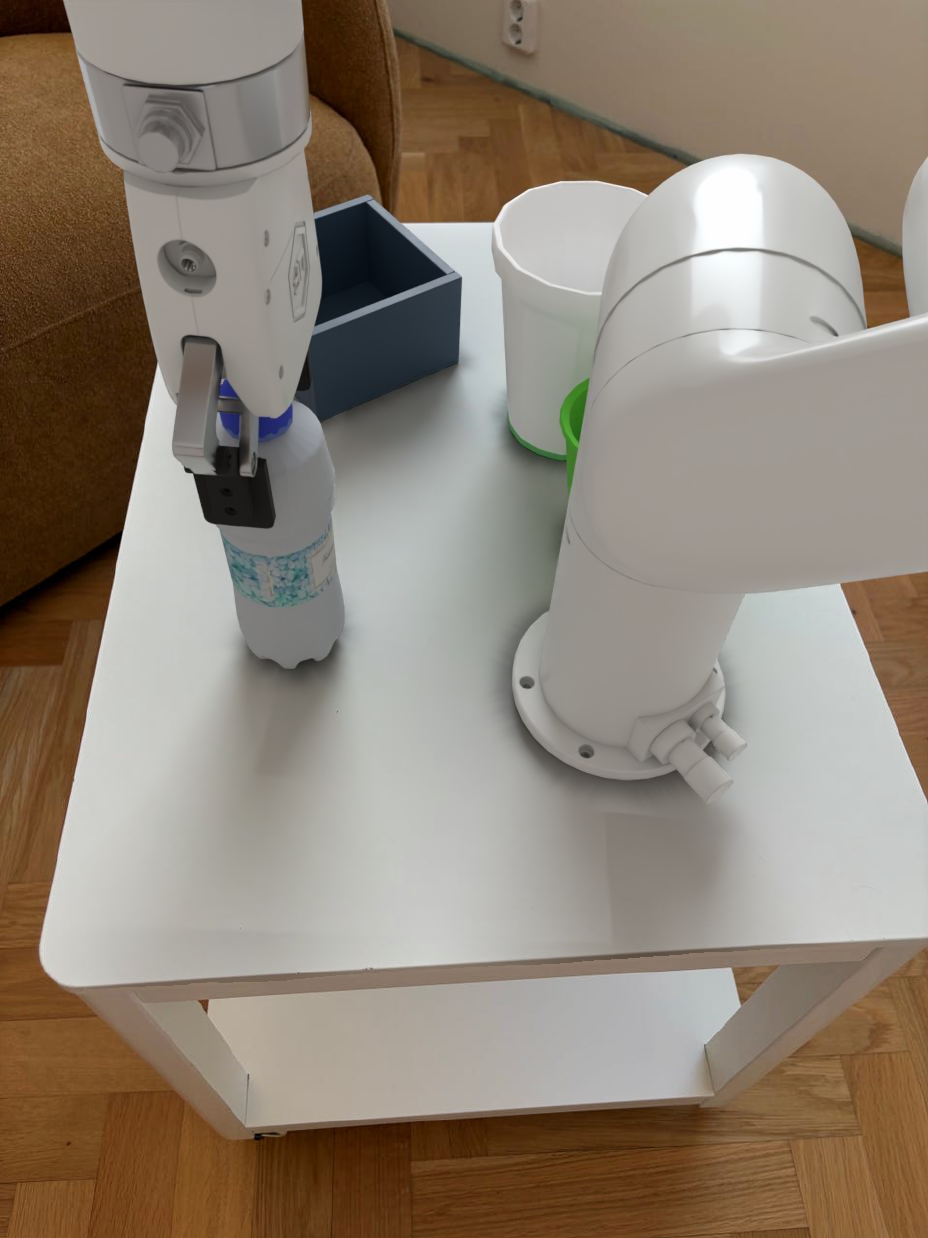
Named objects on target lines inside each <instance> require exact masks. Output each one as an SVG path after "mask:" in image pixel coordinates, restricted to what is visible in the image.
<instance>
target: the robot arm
mask: <svg viewBox="0 0 928 1238" xmlns="http://www.w3.org/2000/svg"><path fill="white" fill-rule="evenodd" d="M62 1H63V5H64V9H65V12H66V16H67V20H68V23H69V26H70V31H71V35H72V38H73V42H74V49H75V52H76V57H77V60H78V64H79V68H80V72H81V75H82V79H83V83H84V86H85V91H86V94H87V98H88V102H89V106H90V109H91V113H92V117H93V121H94V125H95V128H96V131H97V136H98V140H99V144H100V147H101V149H102V151H103V153H104V154H105V155H106V157H107V158H108V159H109V160H110V161H111V162H112V163H113V164H114V165H115V166H117V167H118V168H120V169H121V170H123V184H124V191H125V198H126V206H127V207H126V208H127V212H128V219H129V226H130V227H129V228H130V233H131V238H132V246H133V251H134V256H135V257H134V258H135V262H136V263H135V264H136V268H137V274H138V278H139V284H140V289H141V294H142V299H143V303H144V308H145V313H146V319H147V322H148V327H149V332H150V337H151V340H152V345H153V348H154V352H155V356H156V359H157V363H158V366H159V370H160V374H161V377H162V380H163V383H164V385H165V386H164V387H165V389H166V391H167V393H168V395H169V397H170V399H171V401H172V402H173V403H174V405H176V408H175V409H176V410H175V418H174V425H173V432H172V440H171V451H172V455H173V457H174V458H175V459H176V460H177V461H178V462H179V463H180V464H181V466H183V470H184V472H185V473H186V474H190V475H191V474H192V476H193V480H194V484H195V487H196V492H197V497H198V501H199V503H200V508H201V510H202V515H203V518H204V520H205V521H206V522H207V523H209V524H211V525H215V524H218V525H228V526H238V527H252V528H264V529H269V528H272V527H273V526H274V522H275V518H276V513H275V507H274V501H273V495H272V490H271V484H270V478H269V472H268V466H267V460H266V459H263V458H261V457H258V432H259V417H270V418H277V417H279V416H281V415H282V414H283V413H284V412H285V411H286V410H287V409H288V407H289V406H290V405H291V403H292V401H293V400H294V398H295V396H294V395H295V392H296V391H305V390H308V389H309V388H310V386H311V382H312V372H311V363H310V354H309V344H310V340H311V336H312V332H313V329H314V325H315V321H316V317H317V313H318V309H319V305H320V299H321V292H322V275H321V266H320V258H319V250H318V243H317V236H316V228H315V221H314V214H313V213H314V206H313V201H312V193H311V187H310V186H311V185H310V179H309V173H308V166H307V159H306V153H305V149H306V147H307V146H308V144H309V143H310V140H311V137H312V134H313V133H312V132H313V122H312V121H313V119H312V112H311V101H310V89H309V78H308V67H307V54H306V43H305V31H304V30H305V29H304V16H303V5H302V0H62ZM647 195H648V196H647V198H646V199H645V200H644V201H643V202H642V203H641V204H640V205H639V206H638V208H637V209H636V210H635V212H634V213H633V214H632V216H631V217H630V219H629V220H628V222H627V224H626V225H625V227H624V228H623V230H622V232H621V234H620V236H619V238H618V240H617V242H616V244H615V247H614V249H613V252H612V254H611V257H610V260H609V263H608V267H607V270H606V274H605V278H604V283H603V288H602V295H601V302H600V310H599V318H598V326H597V334H596V342H595V348H594V354H593V360H592V366H591V373H590V380H589V387H588V393H587V400H586V406H585V412H584V417H583V423H582V429H581V435H580V441H579V446H578V452H577V458H576V463H575V469H574V475H573V481H572V486H571V490H570V496H569V502H568V501H567V508H566V513H565V520H564V524H563V525H564V526H563V531H562V536H561V542H560V547H559V554H558V558H557V559H558V560H557V565H556V569H555V570H556V571H555V576H554V582H553V586H552V587H553V588H552V592H551V599H550V605H549V609H548V610H547V611H545V612H544V613H543V614H541V615H540V616H539V617H538V618H537V619H536V620H535V621H533V623H531V624H530V626H529V627H528V628H527V630H526V632H525V633H524V634H523V636H522V637H521V639H520V640H519V644H518V647H517V649H516V651H515V654H514V658H513V665H512V669H511V672H512V674H511V688H512V689H511V690H512V694H513V699H514V704H515V708H516V710H517V711H518V714H519V717H520V718H521V721H522V723H523V724H524V725H525V727H526V728H527V730H528V731H529V733H530V734H531V736H532V737H533V738H534V739H535V740H536V741H537V743H539V745H541V746H542V747H543V748H544V749H545V750H546V751H547V752H548V753H549V754H551V755H553V757H555V758H557V759H558V760H560V761H561V762H562V763H564V764H566V765H568V766H570V767H573V768H574V769H577V770H579V771H581V772H583V773H586V774H589V775H592V776H596V777H600V778H604V779H609V780H610V779H611V780H620V781H637V780H648V779H653V778H656V777H660V776H664V775H668V774H670V773H672V772H674V771H677V772H678V773H679V774H680V775H681V776H682V777H683V780H684V781H685V782H686V783H687V785H688V786H689V787H690V788H691V789H692V790H693V791H694V792H695V793H696V795H698V796H699V797H700V799H701V800H702V801H703V802H704V803H705V804H706V805H710V804H712V803H714V802H715V801H717V800H718V799H720V797H722V796H723V795H724V794H725V793H726V792H727V791H728V790H729V789H730V787H731V786H732V785H733V783H734V779H733V778H732V777H731V776H730V775H729V774H728V773H727V772H726V770H725V769H724V768H722V767H721V766H720V764H719V763H718V762H717V761H716V760H715V759H714V758H713V757H712V756H709V755H708V754H707V753H706V752H705V751H704V750H705V748H706V747H707V746H708V745H709V743H710V742H711V743H712V746H713V747H714V748H715V749H716V750H717V751H719V753H720V754H721V755H722V757H724V758H725V759H726V760H727V762H731V761H733V760H735V759H736V758H738V757H739V756H740V755H741V754H742V753H743V752H744V751H745V750H746V748H747V746H748V743H747V742H746V741H745V740H744V739H743V738H742V736H740V735H739V734H738V733H737V732H736V731H735V730H734V729H733V728H732V727H729V726H728V724H727V723H726V722H725V721H723V719H722V718H723V714H724V711H725V704H726V695H727V694H726V693H727V692H726V682H725V675H724V673H723V670H722V667H721V664H720V661H719V659H718V658H719V656H720V653H721V651H722V649H723V646H724V644H725V642H726V640H727V637H728V635H729V633H730V630H731V629H732V626H733V623H734V621H735V619H736V616H737V614H738V612H739V609H740V607H741V605H742V602H743V601H744V598H745V595H753V594H762V593H763V594H766V593H776V592H783V591H784V592H785V591H793V590H800V589H808V588H809V589H810V588H817V587H825V586H830V585H831V586H833V585H839V584H840V585H841V584H846V583H854V582H861V581H867V580H868V581H869V580H876V579H877V580H878V579H883V578H884V579H885V578H892V577H899V576H907V575H913V574H919V573H928V156H926V158H925V159H924V160H923V163H922V164H921V165H920V166H919V168H918V170H917V171H916V174H915V175H914V177H913V180H912V181H911V185H910V187H909V190H908V194H907V197H906V199H905V204H904V208H903V213H902V224H901V225H902V228H901V229H902V230H901V241H902V244H901V245H902V247H901V249H902V252H901V254H902V266H903V268H902V269H903V278H904V287H905V293H906V300H907V306H908V313H909V317H906V318H903V319H899V320H895V321H891V322H888V323H885V324H880V325H877V326H874V327H870V328H868V322H867V315H866V313H867V312H866V305H865V297H864V286H863V285H864V284H863V278H862V274H861V266H860V261H859V257H858V253H857V249H856V245H855V243H854V239H853V236H852V233H851V230H850V228H849V226H848V223H847V221H846V219H845V217H844V215H843V213H842V212H841V209H840V208H839V207H838V205H837V203H836V201H835V200H834V199H833V198H832V196H831V195H830V194H829V193H828V191H827V190H826V189H825V188H824V187H822V186H821V184H820V183H819V182H818V181H817V180H815V179H814V178H813V177H811V176H810V174H807V173H806V172H805V171H803V170H802V169H800V168H798V167H796V166H795V165H793V164H791V163H788V162H786V161H784V160H781V159H779V158H775V157H772V156H766V155H761V154H751V153H750V154H749V153H734V154H723V155H719V156H714V157H711V158H707V159H704V160H702V161H699V162H696V163H693V164H691V165H689V166H687V167H685V168H683V169H681V170H679V171H677V172H675V173H674V174H673V175H671V176H670V177H668V178H667V179H666V180H664V181H663V182H661V183H660V184H659V185H657V187H656V188H655V189H653V190H652V191H651V192H650V193H649V194H647ZM225 379H227V380H228V382H229V383H230V385H231V386H232V388H233V389H234V391H235V392H236V393H237V395H238V396H239V397H228V396H220V388H221V384H222V380H225ZM217 412H220V413H232V414H240V424H239V447H232V446H220V445H219V439H218V438H217V435H216V419H217Z"/></svg>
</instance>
